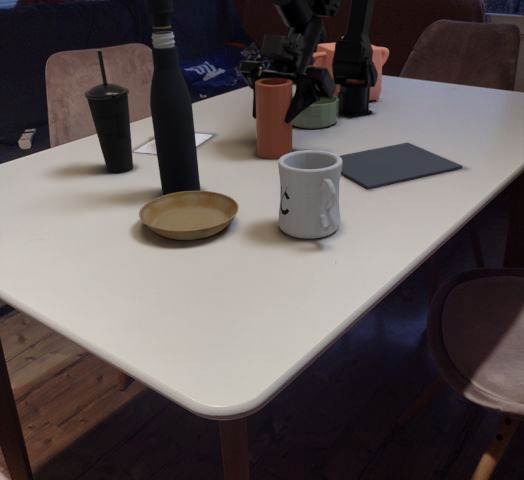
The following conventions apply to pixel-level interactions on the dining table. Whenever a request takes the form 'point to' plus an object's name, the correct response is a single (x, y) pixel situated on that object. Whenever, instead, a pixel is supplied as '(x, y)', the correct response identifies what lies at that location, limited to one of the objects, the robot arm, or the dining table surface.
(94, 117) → the drinking cup
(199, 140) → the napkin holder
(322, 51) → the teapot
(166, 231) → the plant saucer
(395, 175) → the felt mat
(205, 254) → the dining table surface
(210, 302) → the dining table surface
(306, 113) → the sage bowl
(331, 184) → the mug
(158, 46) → the wine bottle
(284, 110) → the terracotta jar
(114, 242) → the dining table surface
